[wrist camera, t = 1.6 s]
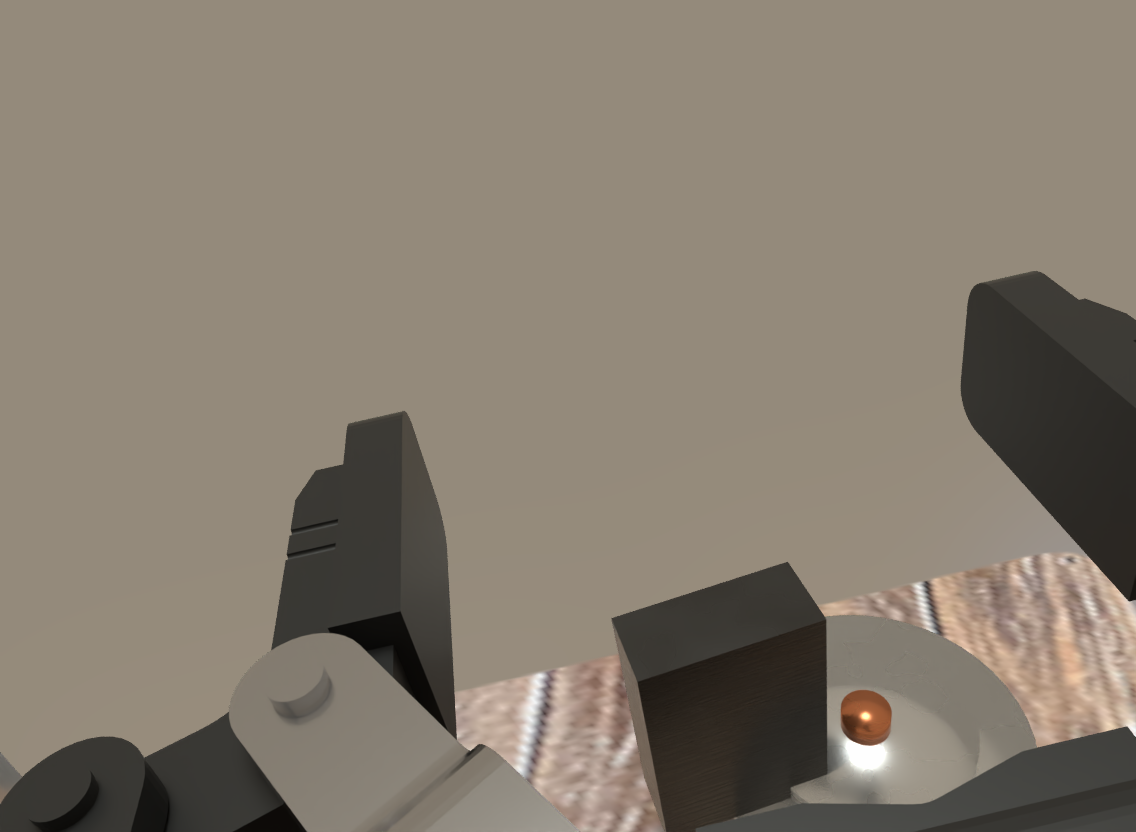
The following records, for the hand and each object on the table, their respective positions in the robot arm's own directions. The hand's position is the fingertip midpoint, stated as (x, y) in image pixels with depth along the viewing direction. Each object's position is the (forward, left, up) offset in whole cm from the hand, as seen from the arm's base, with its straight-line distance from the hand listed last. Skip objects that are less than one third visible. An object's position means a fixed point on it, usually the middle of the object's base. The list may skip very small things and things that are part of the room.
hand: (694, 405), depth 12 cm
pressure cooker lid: (+1, +10, -22) cm, 24 cm away
